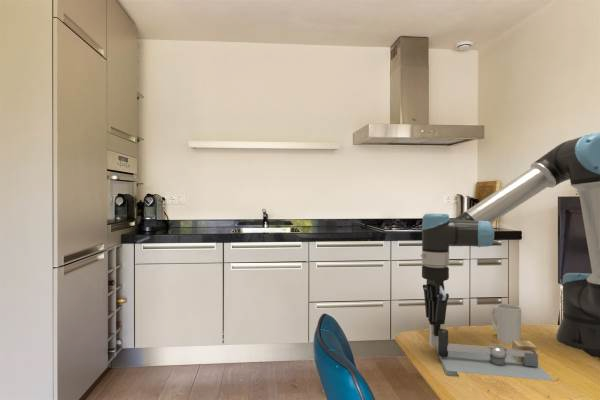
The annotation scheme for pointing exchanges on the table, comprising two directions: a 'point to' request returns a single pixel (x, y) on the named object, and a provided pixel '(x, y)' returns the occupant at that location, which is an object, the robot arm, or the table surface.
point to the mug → (507, 322)
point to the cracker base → (489, 366)
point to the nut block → (522, 347)
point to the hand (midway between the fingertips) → (434, 345)
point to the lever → (484, 350)
